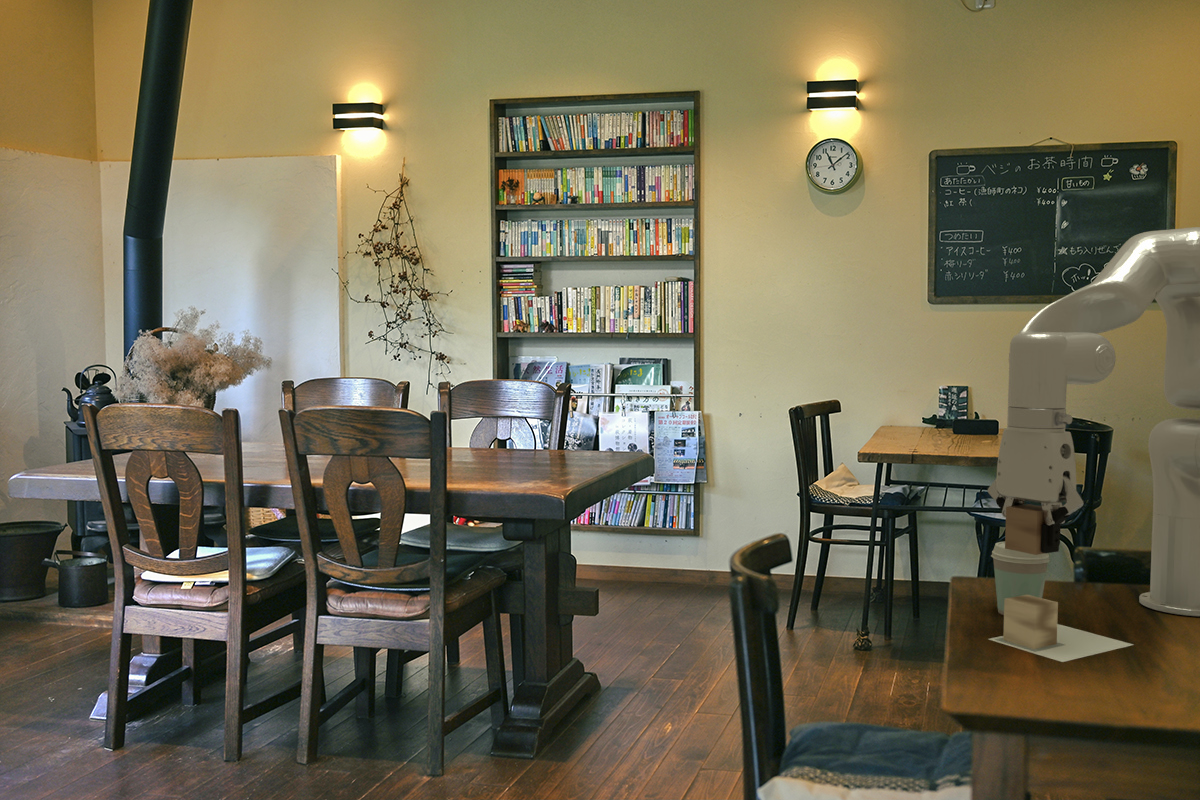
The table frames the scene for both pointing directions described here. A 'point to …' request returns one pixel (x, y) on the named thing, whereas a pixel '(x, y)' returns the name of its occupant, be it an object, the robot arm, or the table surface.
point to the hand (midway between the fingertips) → (1031, 547)
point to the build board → (1071, 644)
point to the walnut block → (1024, 528)
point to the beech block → (1030, 621)
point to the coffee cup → (1018, 573)
